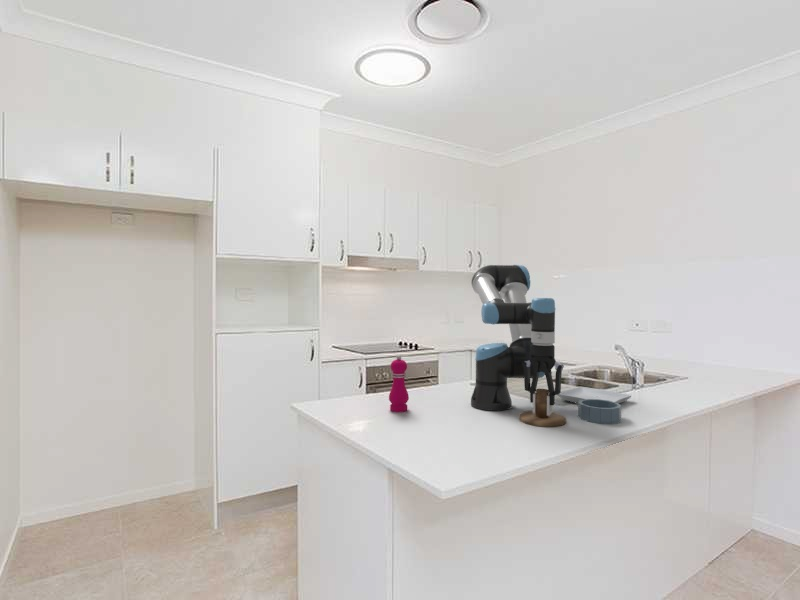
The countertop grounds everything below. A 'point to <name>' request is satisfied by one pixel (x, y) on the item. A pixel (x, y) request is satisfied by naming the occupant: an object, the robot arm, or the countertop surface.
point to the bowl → (599, 411)
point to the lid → (542, 413)
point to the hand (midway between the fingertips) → (542, 413)
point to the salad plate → (592, 395)
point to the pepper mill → (398, 386)
